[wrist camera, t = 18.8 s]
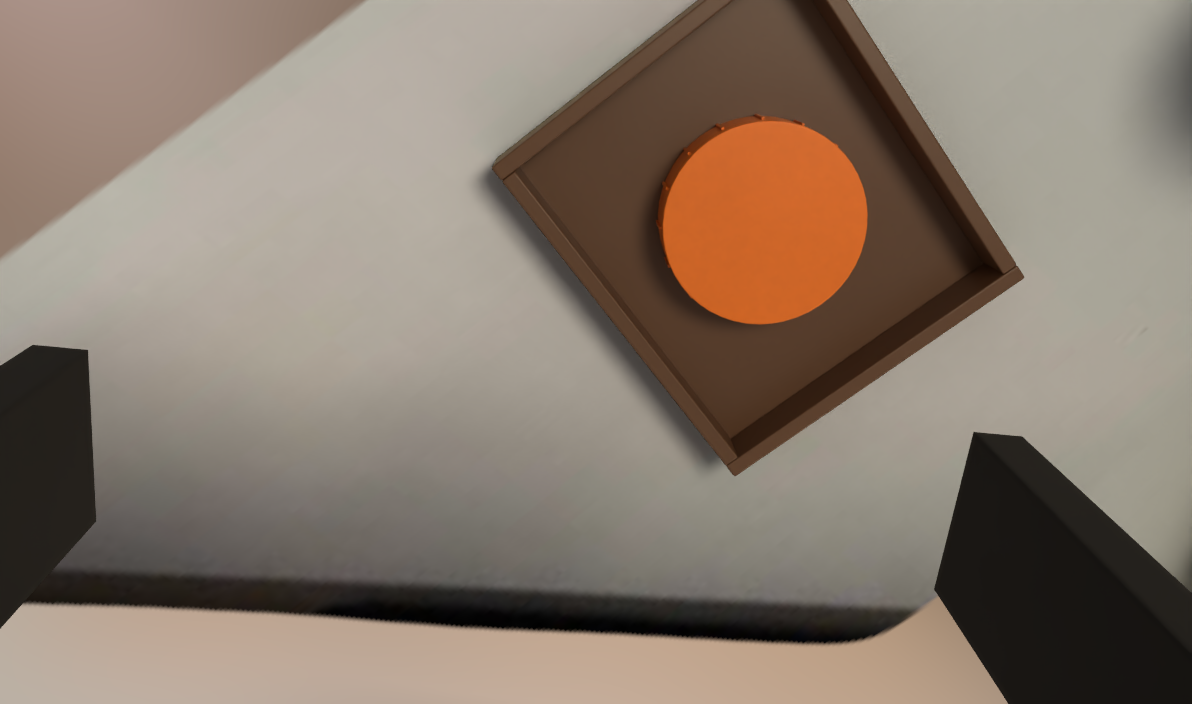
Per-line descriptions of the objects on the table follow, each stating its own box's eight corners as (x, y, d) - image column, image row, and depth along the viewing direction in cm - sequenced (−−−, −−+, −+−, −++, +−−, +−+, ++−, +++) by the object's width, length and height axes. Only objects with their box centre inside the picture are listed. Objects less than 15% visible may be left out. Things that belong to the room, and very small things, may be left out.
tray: (495, 158, 38) (490, 167, 36) (784, -68, 36) (799, -75, 34) (725, 452, 42) (734, 477, 40) (998, 262, 40) (1025, 278, 38)
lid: (889, 235, 39) (906, 246, 37) (729, 346, 40) (737, 363, 38) (783, 73, 37) (795, 75, 35) (618, 195, 38) (621, 204, 36)
